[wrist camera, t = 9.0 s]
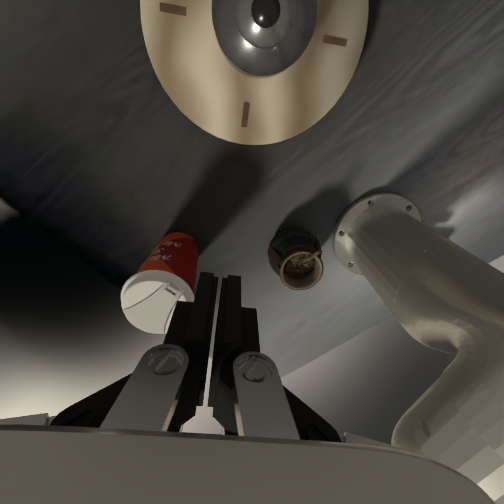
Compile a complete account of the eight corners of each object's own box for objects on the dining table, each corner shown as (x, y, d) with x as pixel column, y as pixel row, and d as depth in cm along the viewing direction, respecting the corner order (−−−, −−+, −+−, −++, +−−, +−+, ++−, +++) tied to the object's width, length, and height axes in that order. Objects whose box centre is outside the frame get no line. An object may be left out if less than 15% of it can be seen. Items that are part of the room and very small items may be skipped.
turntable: (391, -93, 27) (403, -107, 25) (329, 155, 37) (334, 158, 35) (144, -154, 25) (137, -176, 23) (146, 128, 34) (141, 129, 32)
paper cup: (171, 213, 41) (143, 262, 28) (216, 246, 43) (208, 304, 30) (140, 253, 43) (101, 314, 30) (184, 282, 45) (165, 349, 33)
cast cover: (318, -23, 28) (334, -49, 23) (294, 86, 31) (304, 83, 27) (221, -48, 26) (218, -81, 22) (209, 68, 30) (204, 61, 26)
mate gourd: (261, 263, 45) (267, 301, 36) (272, 215, 42) (282, 244, 32) (307, 270, 45) (324, 309, 36) (321, 224, 42) (344, 254, 33)
